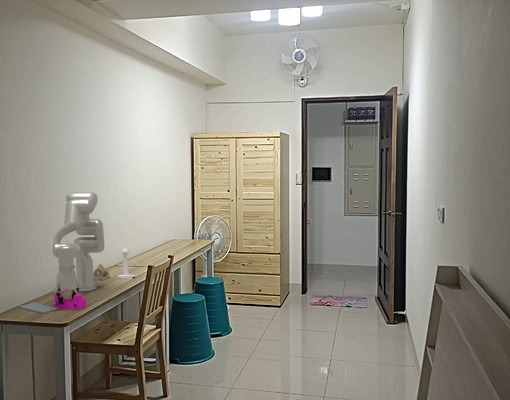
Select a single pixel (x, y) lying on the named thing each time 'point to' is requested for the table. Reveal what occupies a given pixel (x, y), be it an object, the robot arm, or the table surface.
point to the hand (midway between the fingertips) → (67, 302)
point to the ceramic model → (100, 273)
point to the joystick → (125, 265)
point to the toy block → (71, 302)
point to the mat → (39, 308)
